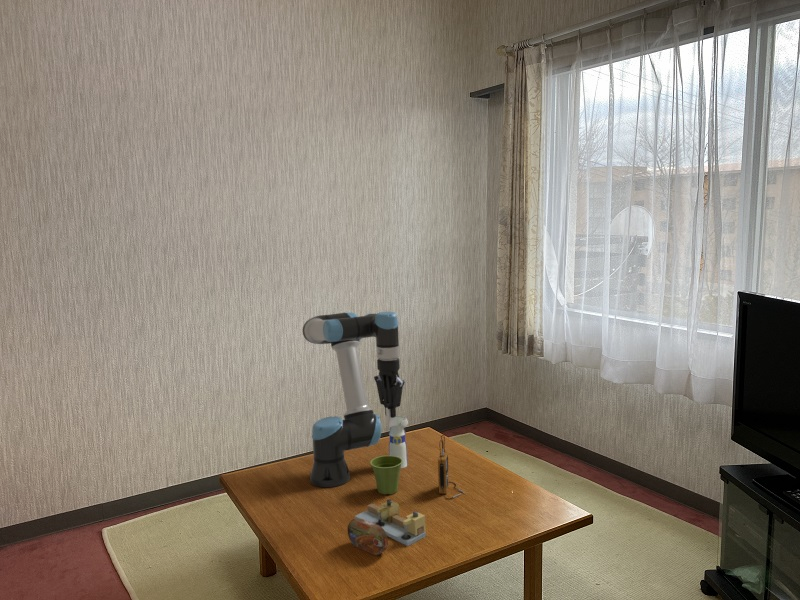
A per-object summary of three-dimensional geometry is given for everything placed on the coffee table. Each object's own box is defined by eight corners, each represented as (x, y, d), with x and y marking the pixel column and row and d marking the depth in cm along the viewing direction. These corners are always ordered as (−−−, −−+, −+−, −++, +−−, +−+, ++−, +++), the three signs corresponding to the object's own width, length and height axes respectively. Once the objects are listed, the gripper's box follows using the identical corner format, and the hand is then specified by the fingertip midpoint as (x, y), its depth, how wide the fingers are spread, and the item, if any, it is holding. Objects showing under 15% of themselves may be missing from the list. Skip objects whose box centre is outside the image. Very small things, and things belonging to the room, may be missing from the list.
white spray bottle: (409, 468, 245) (407, 407, 242) (388, 469, 245) (385, 408, 242) (409, 460, 253) (407, 401, 250) (388, 461, 254) (386, 402, 250)
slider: (374, 521, 200) (373, 503, 199) (390, 514, 205) (390, 496, 204) (383, 525, 197) (382, 507, 196) (399, 517, 202) (398, 500, 201)
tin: (347, 543, 191) (345, 517, 190) (354, 538, 193) (353, 513, 192) (383, 559, 181) (381, 532, 180) (390, 555, 183) (389, 528, 182)
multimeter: (465, 500, 216) (464, 445, 213) (437, 499, 218) (435, 444, 215) (469, 482, 230) (468, 431, 228) (442, 481, 232) (441, 430, 230)
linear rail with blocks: (355, 519, 206) (354, 497, 205) (374, 510, 211) (373, 489, 210) (407, 546, 188) (406, 522, 187) (426, 535, 193) (426, 512, 192)
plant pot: (408, 485, 230) (407, 456, 228) (397, 499, 219) (396, 469, 217) (378, 482, 234) (377, 453, 232) (366, 495, 223) (365, 466, 221)
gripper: (367, 357, 210) (370, 424, 213) (393, 363, 201) (396, 433, 204) (383, 353, 215) (386, 419, 219) (409, 358, 206) (412, 427, 209)
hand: (391, 425), depth 211 cm, fingers closed
